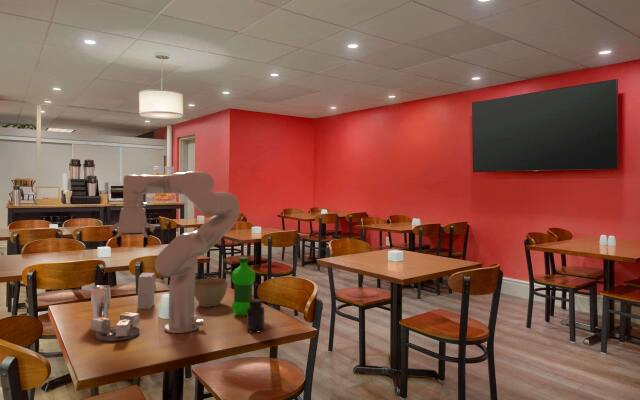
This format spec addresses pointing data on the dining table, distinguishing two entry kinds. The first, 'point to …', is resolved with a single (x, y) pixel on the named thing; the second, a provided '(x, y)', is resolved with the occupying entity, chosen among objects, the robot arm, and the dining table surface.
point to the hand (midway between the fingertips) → (132, 246)
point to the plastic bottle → (242, 286)
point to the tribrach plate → (111, 336)
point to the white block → (100, 324)
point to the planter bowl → (210, 291)
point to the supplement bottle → (255, 316)
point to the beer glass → (100, 300)
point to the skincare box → (146, 290)
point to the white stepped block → (130, 318)
